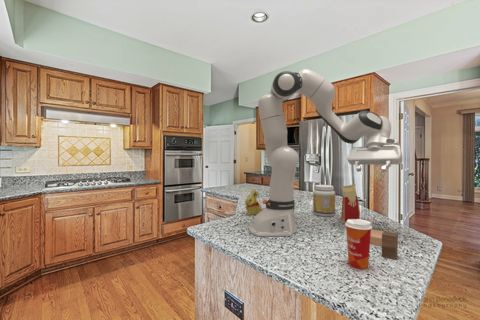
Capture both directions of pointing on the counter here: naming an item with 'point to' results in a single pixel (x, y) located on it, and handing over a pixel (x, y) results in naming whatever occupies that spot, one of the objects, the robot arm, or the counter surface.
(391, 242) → the walnut block
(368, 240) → the paper cup
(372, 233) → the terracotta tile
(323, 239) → the counter surface
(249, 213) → the chocolate bunny
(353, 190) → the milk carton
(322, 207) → the supplement tub
